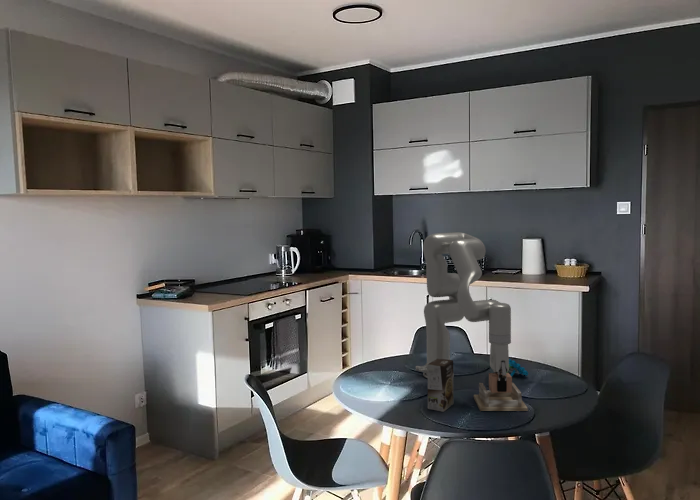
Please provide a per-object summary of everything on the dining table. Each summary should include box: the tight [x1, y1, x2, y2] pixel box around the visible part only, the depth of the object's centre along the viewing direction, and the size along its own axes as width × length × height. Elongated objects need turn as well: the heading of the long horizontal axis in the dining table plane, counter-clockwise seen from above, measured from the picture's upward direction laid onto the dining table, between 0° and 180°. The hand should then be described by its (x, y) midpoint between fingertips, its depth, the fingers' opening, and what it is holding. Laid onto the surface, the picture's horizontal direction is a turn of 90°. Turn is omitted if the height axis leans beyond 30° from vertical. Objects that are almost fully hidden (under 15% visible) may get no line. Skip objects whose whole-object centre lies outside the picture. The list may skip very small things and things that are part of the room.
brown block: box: [488, 372, 513, 393], centre depth 201 cm, size 7×5×6 cm
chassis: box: [473, 382, 529, 412], centre depth 202 cm, size 16×14×6 cm
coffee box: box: [427, 359, 454, 413], centre depth 200 cm, size 9×6×16 cm
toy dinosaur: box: [506, 358, 529, 378], centre depth 234 cm, size 11×6×10 cm
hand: (500, 388), depth 201 cm, fingers closed on brown block, 5 cm apart
